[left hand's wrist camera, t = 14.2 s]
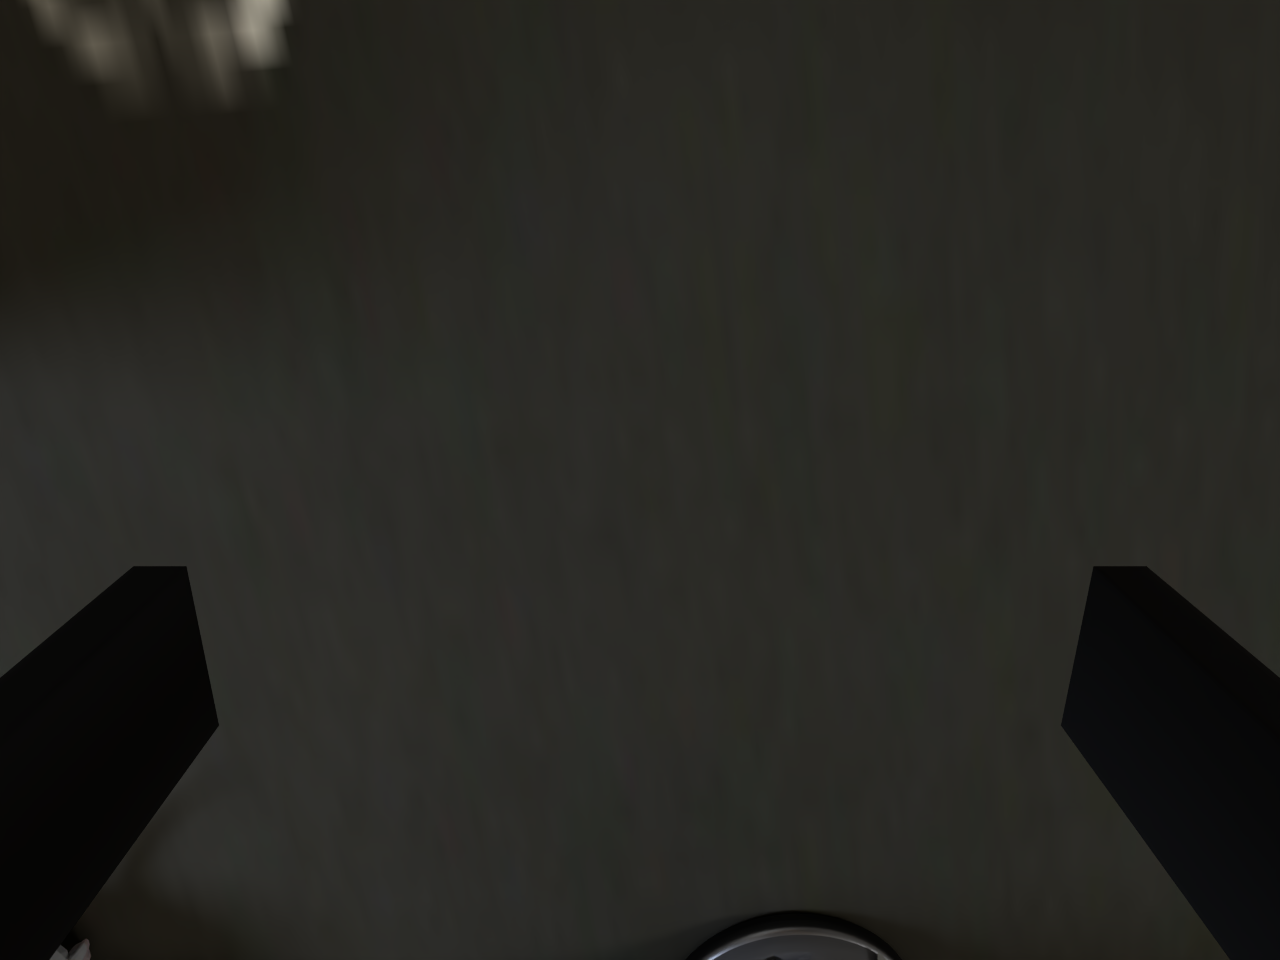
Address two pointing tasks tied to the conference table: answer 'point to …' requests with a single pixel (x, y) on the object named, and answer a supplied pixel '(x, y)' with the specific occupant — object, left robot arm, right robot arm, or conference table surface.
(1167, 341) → the conference table surface
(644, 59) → the conference table surface
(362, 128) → the conference table surface
